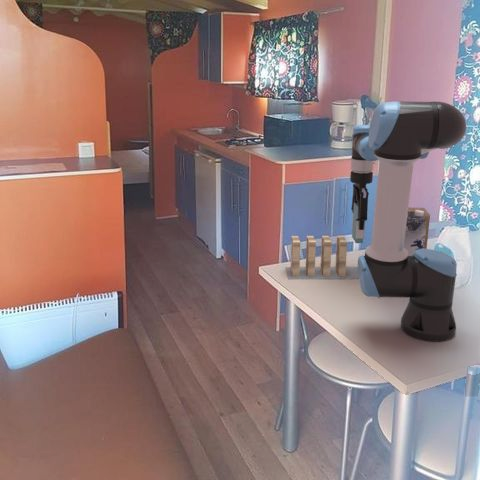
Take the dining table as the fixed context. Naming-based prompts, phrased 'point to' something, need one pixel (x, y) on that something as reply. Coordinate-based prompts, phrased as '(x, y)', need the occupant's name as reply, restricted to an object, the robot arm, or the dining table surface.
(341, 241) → the tile
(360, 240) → the end tile
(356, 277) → the mat
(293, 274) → the tile
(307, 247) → the tile
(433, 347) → the dining table surface
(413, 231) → the juice carton
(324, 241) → the tile
